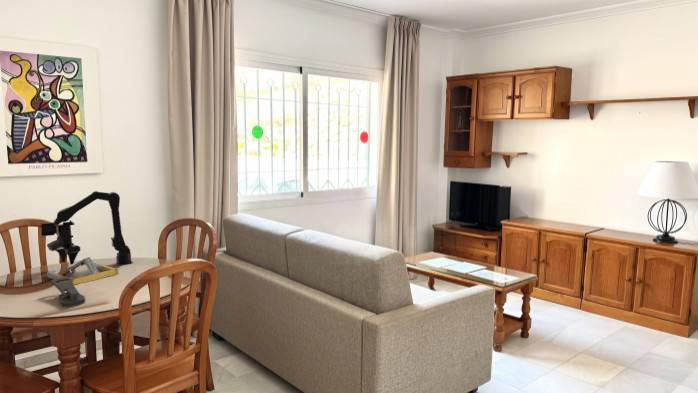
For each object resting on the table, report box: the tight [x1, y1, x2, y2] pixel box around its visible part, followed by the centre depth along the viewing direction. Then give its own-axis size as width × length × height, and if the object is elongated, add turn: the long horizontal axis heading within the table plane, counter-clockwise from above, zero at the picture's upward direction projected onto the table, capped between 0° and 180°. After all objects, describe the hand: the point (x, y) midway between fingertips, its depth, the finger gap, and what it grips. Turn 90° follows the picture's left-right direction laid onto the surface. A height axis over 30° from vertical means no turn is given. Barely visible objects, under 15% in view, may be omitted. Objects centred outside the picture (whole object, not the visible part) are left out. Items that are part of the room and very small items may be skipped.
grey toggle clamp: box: [50, 276, 86, 308], centre depth 211 cm, size 9×7×25 cm
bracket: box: [58, 256, 100, 275], centre depth 247 cm, size 10×14×10 cm
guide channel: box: [46, 261, 119, 286], centre depth 247 cm, size 23×25×2 cm
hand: (67, 263), depth 256 cm, fingers open, 9 cm apart
